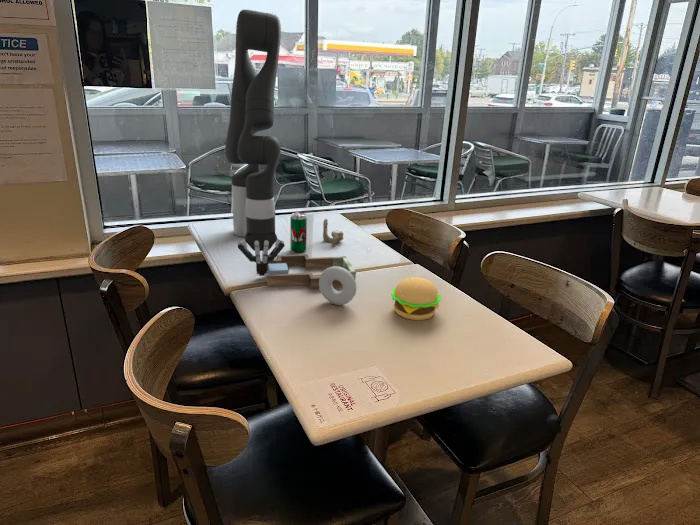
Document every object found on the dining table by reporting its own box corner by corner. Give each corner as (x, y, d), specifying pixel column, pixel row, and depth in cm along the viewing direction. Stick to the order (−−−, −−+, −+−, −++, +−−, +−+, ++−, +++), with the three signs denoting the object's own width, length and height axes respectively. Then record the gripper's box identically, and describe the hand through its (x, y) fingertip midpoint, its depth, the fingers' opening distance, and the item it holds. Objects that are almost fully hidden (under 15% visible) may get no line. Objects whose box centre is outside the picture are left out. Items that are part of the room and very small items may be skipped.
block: (268, 275, 139) (268, 263, 137) (286, 274, 140) (286, 263, 139) (270, 282, 134) (269, 270, 133) (288, 281, 135) (288, 269, 134)
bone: (352, 241, 164) (338, 217, 159) (337, 252, 162) (323, 229, 158) (340, 235, 171) (327, 212, 166) (326, 246, 170) (312, 223, 165)
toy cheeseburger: (381, 304, 124) (383, 273, 121) (422, 298, 129) (426, 267, 126) (404, 327, 114) (407, 293, 111) (448, 319, 119) (452, 286, 116)
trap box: (263, 265, 144) (263, 256, 143) (343, 262, 150) (343, 252, 149) (268, 291, 128) (268, 281, 127) (358, 286, 134) (358, 276, 133)
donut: (357, 305, 123) (359, 268, 120) (351, 311, 120) (354, 273, 117) (322, 296, 127) (323, 260, 123) (315, 302, 124) (316, 265, 120)
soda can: (307, 248, 160) (308, 212, 155) (304, 253, 155) (305, 217, 151) (292, 247, 160) (292, 211, 156) (288, 252, 156) (288, 215, 151)
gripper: (284, 209, 134) (284, 268, 141) (234, 210, 131) (236, 270, 138) (287, 217, 128) (287, 279, 134) (234, 218, 124) (237, 281, 131)
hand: (261, 274), depth 136 cm, fingers closed
